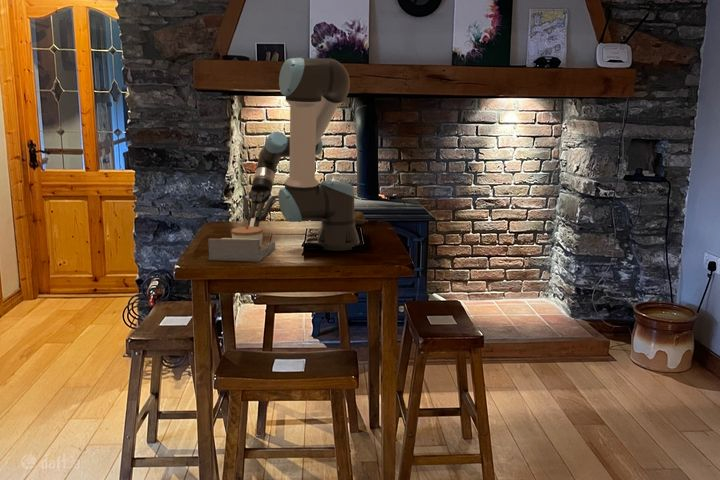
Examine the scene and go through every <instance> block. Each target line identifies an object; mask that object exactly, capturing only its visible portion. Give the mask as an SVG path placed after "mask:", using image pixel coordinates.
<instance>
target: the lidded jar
mask: <svg viewBox="0 0 720 480" xmlns="http://www.w3.org/2000/svg"><path fill="white" fill-rule="evenodd" d="M230 231H231V238H241V239H259V240H260V247H261V245H262V243H263V231H264V230H263V228H262V227H261V226H259V227H253V226H248V223H247V224H245V226H240V227H239V226H238V227H235V228H232V229H231V230H230Z"/></svg>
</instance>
